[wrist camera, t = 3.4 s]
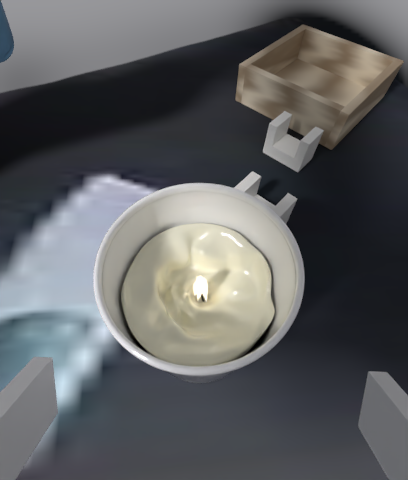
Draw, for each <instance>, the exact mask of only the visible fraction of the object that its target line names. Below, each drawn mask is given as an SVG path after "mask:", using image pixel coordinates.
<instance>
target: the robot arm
mask: <svg viewBox="0 0 408 480" xmlns="http://www.w3.org/2000/svg"><path fill="white" fill-rule="evenodd" d="M13 48H14V41H13V36H12V32H11V29H10V27H9V23H8V20H7V17H6V15H5V11H4V9H3V6H2V3H1V0H0V63H1V62H4V61H5V60H7V59H8V58H9V57H10V56H11V54H12V52H13ZM57 413H58V410H57V400H56V390H55V380H54V370H53V360H52V358H48V357H34V358H33V359H32V360H31V361H30V362H29V363H28V364H27V365H26V366H25V367H24V368H23V369H22V370H21V371H20V372H19V373H18V374H17V375H16V376H15V377H14V379H13V380H12V381H11V382H10V383H9V384H8V385H7V386H6V387H5V388H4V389H3V390H2V391H1V392H0V480H15V479H16V478H17V476H18V475H19V473H20V472H21V470H22V468H23V467H24V465H25V464H26V462H27V460H28V459H29V457H30V456H31V454H32V453H33V451H34V449H35V448H36V446H37V445H38V443H39V442H40V440H41V438H42V437H43V435H44V434H45V432H46V431H47V429H48V427H49V426H50V424H51V423H52V421H53V419H54V418H55V416H56V415H57ZM358 427H359V429H360V431H361V433H362V434H363V436H364V438H365V440H366V441H367V443H368V445H369V446H370V448H371V450H372V452H373V453H374V455H375V457H376V458H377V460H378V462H379V464H380V465H381V467H382V469H383V470H384V472H385V474H386V476H387V477H388V479H389V480H408V395H407V394H406V393H405V392H404V391H403V390H402V388H401V387H400V386H399V385H398V384H397V383H396V382H395V381H394V379H393V378H392V377H391V376H390V375H389V374H388V373H387V372H374V371H368V375H367V381H366V386H365V391H364V396H363V402H362V407H361V412H360V418H359V423H358Z"/></svg>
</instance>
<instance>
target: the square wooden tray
mask: <svg viewBox="0 0 408 480" xmlns="http://www.w3.org/2000/svg"><path fill="white" fill-rule="evenodd" d="M403 62H404V61H402V60H399V59H396V58H394V57H391V56H388V55H386V54H383V53H380V52H377V51H375V50H372V49H369V48H366V47H364V46H361V45H358V44H355V43H353V42H350V41H347V40H344V39H342V38H339V37H336V36H333V35H331V34H328V33H325V32H323V31H320V30H317V29H314V28H312V27H309V26H306V25H301V26H300V27H298V28H296V29H295V30H293V31H292V32H290V33H288V34H287V35H285V36H284V37H282V38H281V39H279V40H277V41H276V42H274V43H273V44H271V45H269V46H268V47H266V48H265V49H263V50H261V51H260V52H258V53H257V54H255V55H253V56H252V57H250V58H249V59H247V60H245V61H244V62H242V63H241V64H239V72H238V81H237V90H236V101H238V102H240V103H242V104H244V105H246V106H248V107H250V108H251V109H253V110H255V111H257V112H259V113H261V114H263V115H265V116H267V117H269V118H271V119H273V120H274V119H275V118H277V117H278V116H279V115H280V114H281V113H283V112H284V111H286V112H288V113H290V114H292V117H291V120H290V124H289V127H288V128H290V129H292V130H294V131H296V132H298V133H300V134H302V135H303V136H306V135H307V134H308V133H309V132H310V131H311V130H312V129H313V128H315V127H318V128H320V129H322V130H324V132H323V134H322V136H321V139H320V141H319V144H321V145H323V146H325V147H327V148H328V149H330V150H332V149H333V148H334V147H335V146H336V145H337V144H338V143H339V142H340V141H341V140H342V139H343V138H344V137H345V136H346V135H347V134H348V133H349V132H350V131H351V130H352V129H353V128H354V127H355V126H356V125H357V124H358V123H359V122H360V121H361V120H362V119H363V117H364V116H365V115H366V114H367V113H368V112H369V111H370V110H371V109H372V108H373V107H374V106H375V105H376V104H377V103H378V102H379V101H380V100H381V99H382V98H383V97H384V95H385V94H386V92H387V90H388V88H389V87H390V85H391V83H392V81H393V80H394V78H395V76H396V74H397V73H398V71H399V69H400V67H401V66H402V64H403Z"/></svg>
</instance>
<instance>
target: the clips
mask: <svg viewBox="0 0 408 480" xmlns="http://www.w3.org/2000/svg"><path fill="white" fill-rule="evenodd" d="M291 117H292V114H290V113H288V112H286V111H284V112H283V113H281V114H280V115H279V116H278V117H277V118H275V119H274V120H273V121H272V122H270V123H269V127H268V131H267V135H266V140H265V144H264V148H263V153H265V154H267V155H268V156H270V157H272V158H274V159H275V160H277V161H279V162H280V163H282V164H284V165H286V166H287V167H289V168H291V169H293V170H294V171H296V172H299V171H300V170H301V169H302V168H303V167H304V166H305V165H306V164H307V163H308V162H309V161H310V160H311V159H312V157H313V155H314V152H315V150H316V148H317V146H318V143H319V141H320V139H321V136H322V134H323V132H324V130H322V129H320V128H318V127H315V128H313V129H312V130H311V131H310V132H309V133H308V134H307V135H306V136H305V137H304V138H303V139H301V141H300V140H298V139H296V138H294V137H292V136H290V135H289V134H287V130H288V127H289V124H290V120H291ZM260 179H261V176H259V175H258V174H256V173H255V172H251V173H250V174H249V175H248V176H247V177H246V178H245V179H244V180H242V181H241V182H240V183H239V184H238V185H237V186H236V187H235V189H238V190H240V191H243V192H245V193H248V194H250V195H252V196H253V197H255V198H257V199H259V200H260V201H262V202H263V203H265V204H266V205H267V206H269V207H270V208H271V209H272V210H273V211H274V212H276V213H277V214H278V215H279V216H280V218H281V219H282V220H283V221H284V222H285V224H286V223H287V221H288V219H289V217H290V214H291V212H292V210H293V208H294V205H295V203H296V201H297V198H295V197H294V196H292V195H290V194H289V193H288V194H287V195H286V196H285V197H284V198H283V199H282V200H281V201H280V202H279V203H278V204H277V205H276V206H275V205H273V204H272V203H270V202H268V201H267V200H265V199H264V198H262V197H261V196H259V195H257V191H258V187H259V183H260Z"/></svg>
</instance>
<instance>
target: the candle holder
mask: <svg viewBox="0 0 408 480" xmlns="http://www.w3.org/2000/svg"><path fill="white" fill-rule="evenodd" d="M304 283H305V274H304V265H303V260H302V256H301V252H300V249H299V246H298V244H297V242H296V240H295V238H294V236H293V234H292V232H291V231H290V229H289V228H288V226H287V225H286V224H285V222H284V221H283V220H282V219H281V218H280V216H279V215H278V214H277V213H276V212H274V211H273V210H272V209H271V208H270V207H269V206H267V205H266V204H265V203H263V202H262V201H260V200H259V199H257V198H255V197H253V196H252V195H250V194H248V193H245V192H243V191H240V190H238V189H235V188H232V187H228V186H224V185H218V184H211V183H188V184H180V185H175V186H171V187H167V188H164V189H161V190H158V191H156V192H153V193H151V194H149V195H147V196H145V197H143V198H142V199H140V200H138V201H137V202H135V203H134V204H133V205H131V206H130V207H129V208H128V209H126V210H125V211H124V212H123V213H122V214H121V215H120V216H119V217H118V218H117V219H116V220H115V222H114V223H113V224H112V225H111V227H110V228H109V230H108V231H107V233H106V235H105V236H104V238H103V240H102V242H101V245H100V247H99V250H98V253H97V256H96V260H95V265H94V275H93V284H94V294H95V299H96V303H97V306H98V309H99V312H100V314H101V317H102V319H103V321H104V323H105V324H106V326H107V328H108V329H109V331H110V332H111V333H112V335H113V336H114V337H115V339H116V340H117V341H118V342H119V343H120V344H121V345H122V346H123V347H124V348H125V349H126V350H127V351H129V352H130V353H131V354H133V355H134V356H135V357H137V358H138V359H140V360H142V361H143V362H145V363H147V364H149V365H151V366H153V367H156V368H158V369H161V370H163V371H165V372H166V373H168V374H170V375H172V376H174V377H176V378H178V379H180V380H183V381H187V382H192V383H208V382H213V381H216V380H219V379H221V378H224V377H226V376H227V375H229V374H231V373H232V372H234V371H236V370H237V369H239V368H242V367H244V366H246V365H248V364H250V363H252V362H254V361H256V360H257V359H259V358H260V357H262V356H263V355H265V354H266V353H267V352H269V351H270V350H271V349H272V348H273V347H274V346H275V345H276V344H277V343H278V342H279V341H280V340H281V339H282V338H283V337H284V335H285V334H286V333H287V331H288V330H289V329H290V327H291V325H292V324H293V322H294V320H295V318H296V316H297V314H298V311H299V308H300V305H301V302H302V298H303V293H304Z"/></svg>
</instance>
